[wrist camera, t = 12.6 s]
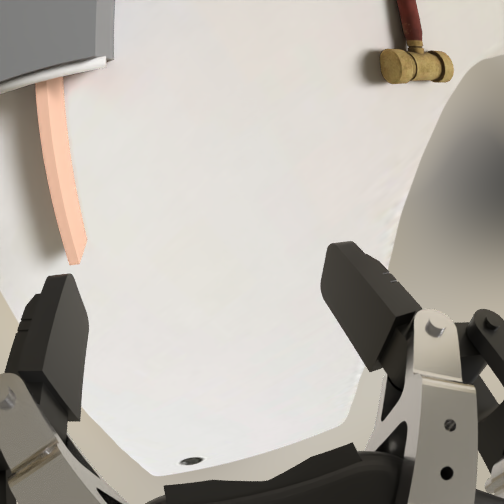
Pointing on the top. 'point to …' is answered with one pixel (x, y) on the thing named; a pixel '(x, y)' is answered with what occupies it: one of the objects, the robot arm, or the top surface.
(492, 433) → the robot arm
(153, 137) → the top surface
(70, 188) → the ticket strip
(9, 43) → the dispenser
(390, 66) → the gavel
